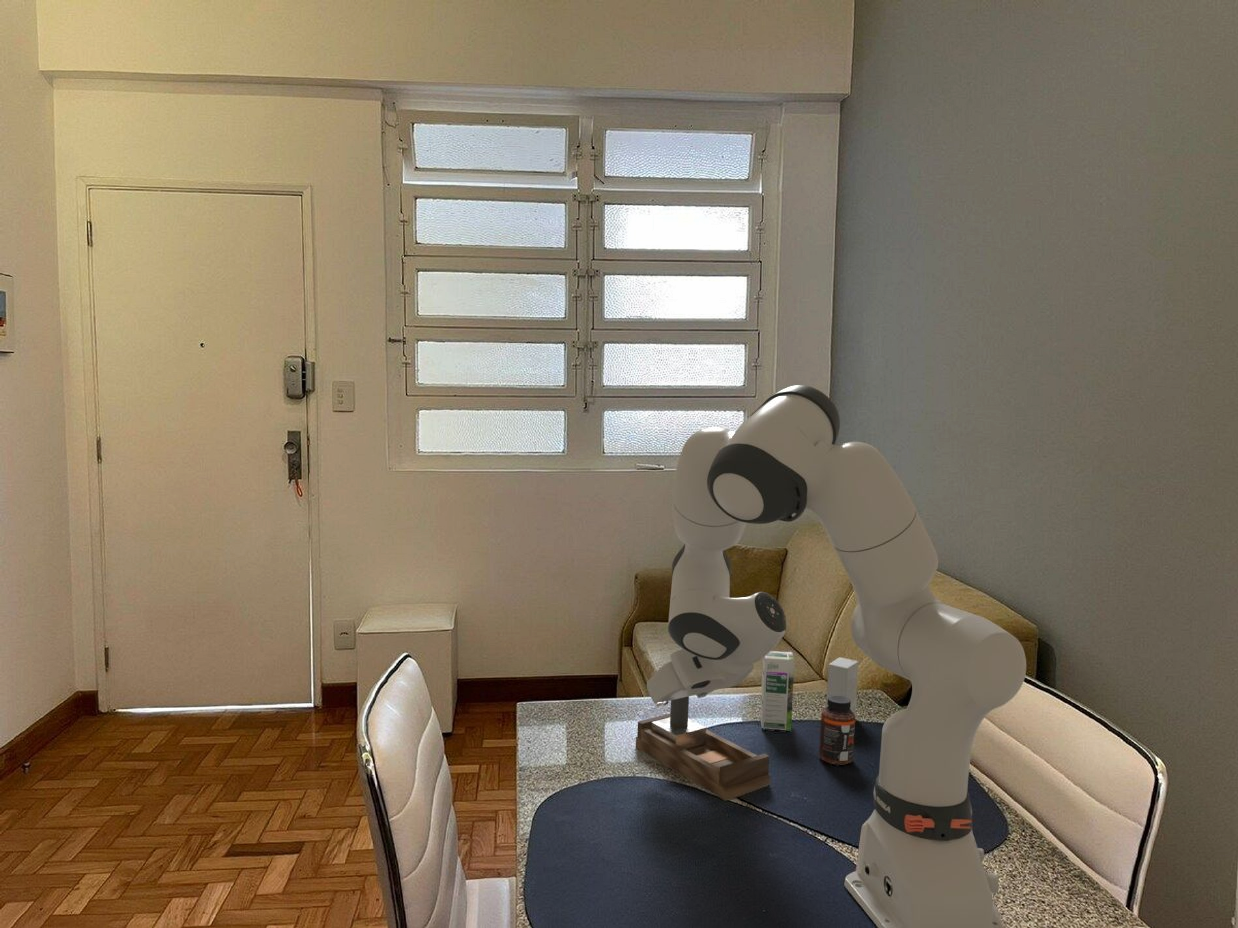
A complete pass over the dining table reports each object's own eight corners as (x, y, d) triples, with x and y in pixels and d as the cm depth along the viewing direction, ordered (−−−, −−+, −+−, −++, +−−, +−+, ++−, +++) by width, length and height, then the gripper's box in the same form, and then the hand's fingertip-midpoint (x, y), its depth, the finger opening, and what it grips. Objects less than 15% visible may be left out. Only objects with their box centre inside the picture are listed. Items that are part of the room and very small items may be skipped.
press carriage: (705, 743, 154) (708, 678, 153) (675, 752, 150) (678, 685, 149) (680, 730, 160) (683, 667, 159) (650, 738, 156) (653, 673, 155)
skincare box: (835, 712, 178) (839, 656, 176) (855, 718, 175) (859, 660, 174) (824, 721, 173) (827, 663, 172) (844, 727, 170) (848, 668, 169)
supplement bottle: (853, 768, 151) (857, 706, 150) (819, 764, 152) (822, 702, 151) (851, 754, 157) (855, 694, 156) (818, 751, 158) (821, 691, 157)
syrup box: (761, 730, 167) (765, 657, 166) (759, 718, 173) (763, 648, 172) (791, 732, 166) (795, 659, 165) (788, 721, 172) (792, 650, 171)
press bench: (770, 785, 144) (771, 756, 143) (724, 800, 138) (726, 770, 137) (678, 735, 163) (679, 709, 163) (635, 747, 157) (636, 720, 157)
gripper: (754, 635, 153) (714, 673, 161) (665, 652, 140) (627, 692, 149) (771, 667, 149) (729, 703, 158) (682, 687, 137) (641, 725, 146)
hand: (679, 698), depth 153 cm, fingers open, 8 cm apart
